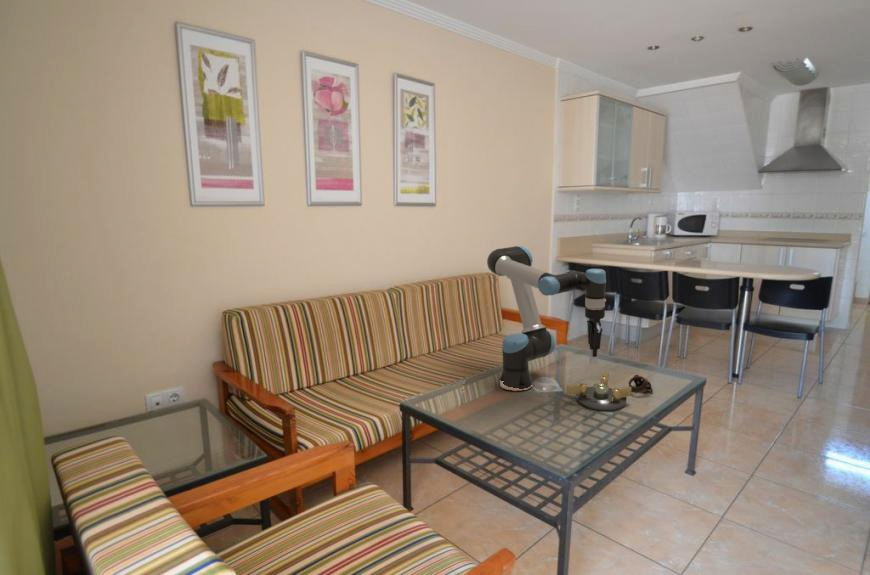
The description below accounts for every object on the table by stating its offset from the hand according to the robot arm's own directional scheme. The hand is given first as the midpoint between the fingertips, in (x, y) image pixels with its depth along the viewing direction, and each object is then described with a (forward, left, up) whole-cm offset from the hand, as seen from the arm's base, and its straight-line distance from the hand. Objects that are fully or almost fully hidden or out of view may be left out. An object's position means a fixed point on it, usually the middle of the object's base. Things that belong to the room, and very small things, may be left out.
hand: (593, 363), depth 195 cm
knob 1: (-6, -2, -15) cm, 16 cm away
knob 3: (+11, +1, -15) cm, 18 cm away
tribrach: (+3, +3, -17) cm, 18 cm away
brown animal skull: (+16, +18, -18) cm, 30 cm away
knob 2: (+3, +13, -15) cm, 20 cm away
